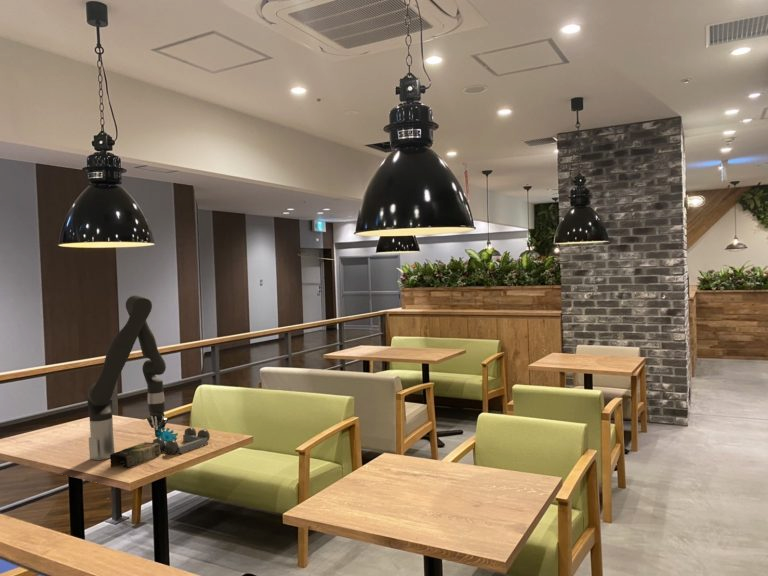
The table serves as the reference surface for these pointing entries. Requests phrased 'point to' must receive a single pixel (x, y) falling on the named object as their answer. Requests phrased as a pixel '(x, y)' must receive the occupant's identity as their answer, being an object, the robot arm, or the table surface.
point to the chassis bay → (189, 437)
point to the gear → (167, 435)
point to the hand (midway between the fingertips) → (158, 436)
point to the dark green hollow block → (135, 454)
